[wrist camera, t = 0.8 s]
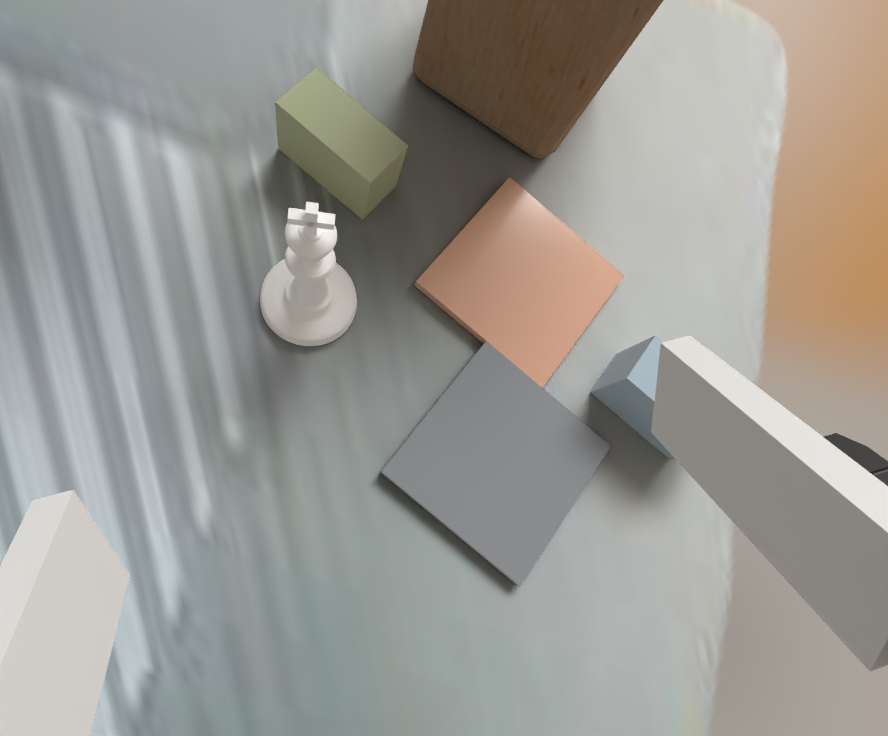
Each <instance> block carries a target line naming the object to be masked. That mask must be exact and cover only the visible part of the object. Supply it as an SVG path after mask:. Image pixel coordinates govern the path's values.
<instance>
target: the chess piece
mask: <svg viewBox="0 0 888 736" xmlns="http://www.w3.org/2000/svg"><path fill="white" fill-rule="evenodd" d="M318 208H319V203H313V202H306V210H302V209H295V208H289V209H288V222H287V224H286V227H285V239H286V242H287V244H288V247H287V249H286V252H285V259H283V260H281V261H280V262H278V263H277V264H276V265H275V266H274V267H273V268H272V269H271V270H270V271H269V272H268V274H267V275H266V277H265V279H264V282H263V285H262V288H261V293H260V307H261V311H262V314H263V317H264V319H265V321H266V323H267V324H268V326H269V327H270V328H271V329H272V330H273V331H274V332H275V333H276V334H277V335H278V336H279V337H281V338H282V339H284V340H286V341H288V342H290V343H293V344H297V345H301V346H319V345H323V344H327V343H329V342H332V341H334V340H335V339H337V338H338V337H340V336H341V335H342V334H343V333H344V332H345V331H346V330H347V329H348V328H349V326H350V325H351V323H352V321H353V319H354V317H355V314H356V309H357V296H356V291H355V287H354V284H353V282H352V280H351V278H350V276H349V275H348V273H347V272H346V271H345V270H344V269H343V268H342V267H341V266H340V265H339V264H338V263H336V256H335V252H334V250H333V248H334V246H335V244H336V242H337V230H336V227H335V214H331V213H324V212H318Z"/></svg>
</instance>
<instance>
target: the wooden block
mask: <svg viewBox="0 0 888 736" xmlns="http://www.w3.org/2000/svg"><path fill="white" fill-rule="evenodd" d="M662 1H663V0H428V4H427V8H426V12H425V16H424V20H423V24H422V28H421V32H420V36H419V40H418V44H417V48H416V52H415V57H414V63H413V69H414V73H415V75H416V76H417V77H418V78H419V80H420V81H421V82H423V83H424V84H425V85H427V86H428V87H430V88H431V89H433V90H434V91H436V92H437V93H439V94H440V95H442V96H443V97H445V98H446V99H448V100H449V101H451V102H452V103H454V104H455V105H457V106H458V107H459V108H461V109H462V110H464V111H465V112H467V113H468V114H470V115H471V116H473V117H474V118H476V119H477V120H479V121H480V122H482V123H483V124H485V125H486V126H488V127H489V128H491V129H492V130H493V131H495V132H496V133H498V134H499V135H501V136H502V137H504V138H505V139H507V140H508V141H510V142H511V143H513V144H514V145H516V146H517V147H519V148H520V149H522V150H523V151H525V152H526V153H527V154H529V155H530V156H532V157H536V158H539V159H542V158H544V157H546V156H547V155H549V154H551V153H552V152H554V151H555V150H556V149H557V148H558V146H559V145H560V143H561V142H562V141H563V139H564V138H565V136H566V135H567V134H568V132H569V131H570V129H571V128H572V127H573V125H574V124H575V123H576V121H577V120H578V118H579V117H580V116H581V114H582V113H583V111H584V110H585V109H586V107H587V106H588V104H589V103H590V102H591V100H592V99H593V97H594V96H595V95H596V93H597V92H598V91H599V89H600V88H601V86H602V85H603V84H604V82H605V81H606V79H607V78H608V77H609V75H610V74H611V72H612V71H613V70H614V68H615V67H616V65H617V64H618V63H619V61H620V60H621V59H622V57H623V56H624V54H625V53H626V52H627V50H628V49H629V47H630V46H631V45H632V43H633V42H634V40H635V39H636V38H637V36H638V35H639V33H640V32H641V31H642V29H643V28H644V27H645V25H646V24H647V22H648V21H649V20H650V18H651V17H652V15H653V14H654V13H655V11H656V10H657V8H658V7H659V6H660V4H661V3H662Z"/></svg>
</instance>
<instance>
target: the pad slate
mask: <svg viewBox="0 0 888 736" xmlns="http://www.w3.org/2000/svg"><path fill="white" fill-rule="evenodd" d="M610 447H611V446H610V445H609V444H608V443H607V442H606V441H604V440H603V439H602V438H601V437H600V436H598V435H597V434H596V433H595V432H594V431H593V430H591V429H590V428H589V427H588V426H587V425H585V424H584V423H583V422H582V421H581V420H580V419H578V418H577V417H576V416H575V415H574V414H572V413H571V412H570V411H569V410H568V409H567V408H565V407H564V406H563V405H562V404H561V403H559V402H558V401H557V400H556V399H555V398H554V397H552V396H551V395H550V394H549V393H548V392H546V391H545V390H544V389H543V388H542V387H541V386H539V385H538V384H537V383H536V382H535V381H533V380H532V379H531V378H530V377H529V376H528V375H526V374H525V373H524V372H523V371H522V370H520V369H519V368H518V367H517V366H516V365H515V364H513V363H512V362H511V361H510V360H509V359H507V358H506V357H505V356H504V355H503V354H502V353H500V352H499V351H498V350H497V349H496V348H494V347H493V346H492V345H491V344H490V343H489V342H487V341H486V342H484V343H483V344H482V346H481V347H480V348H479V349H478V351H477V352H476V353H475V354H474V356H473V357H472V358H471V359H470V361H469V362H468V363H467V364H466V366H465V367H464V368H463V369H462V371H461V372H460V373H459V374H458V376H457V377H456V378H455V379H454V381H453V382H452V383H451V384H450V386H449V387H448V388H447V389H446V391H445V392H444V393H443V394H442V396H441V397H440V398H439V399H438V400H437V402H436V403H435V404H434V405H433V407H432V408H431V409H430V410H429V412H428V413H427V414H426V415H425V417H424V418H423V419H422V420H421V422H420V423H419V424H418V425H417V427H416V428H415V429H414V430H413V432H412V433H411V434H410V435H409V437H408V438H407V439H406V440H405V442H404V443H403V444H402V445H401V447H400V448H399V449H398V450H397V452H396V453H395V454H394V455H393V457H392V458H391V459H390V460H389V461H388V463H387V464H386V465H385V466H384V468H383V469H382V470H381V471H380V473H381V474H382V475H384V476H385V477H386V478H387V479H388V480H390V481H391V482H392V483H393V484H394V485H396V486H397V487H398V488H399V489H400V490H402V491H403V492H404V493H405V494H407V495H408V496H409V497H410V498H411V499H413V500H414V501H415V502H416V503H417V504H419V505H420V506H421V507H422V508H423V509H425V510H426V511H427V512H428V513H430V514H431V515H432V516H433V517H434V518H436V519H437V520H438V521H439V522H440V523H442V524H443V525H444V526H445V527H446V528H448V529H449V530H450V531H451V532H453V533H454V534H455V535H456V536H457V537H459V538H460V539H461V540H462V541H463V542H465V543H466V544H467V545H468V546H469V547H471V548H472V549H473V550H474V551H476V552H477V553H478V554H479V555H480V556H482V557H483V558H484V559H485V560H486V561H488V562H489V563H490V564H491V565H492V566H494V567H495V568H496V569H497V570H499V571H500V572H501V573H502V574H503V575H505V576H506V577H507V578H508V579H509V580H511V581H512V582H513V583H514V584H515V585H518V586H520V585H521V584H522V582H523V581H524V579H525V578H526V576H527V575H528V573H529V572H530V570H531V569H532V567H533V566H534V564H535V562H536V561H537V559H538V558H539V556H540V555H541V553H542V552H543V550H544V549H545V547H546V546H547V544H548V542H549V541H550V539H551V538H552V536H553V535H554V533H555V532H556V530H557V529H558V527H559V526H560V524H561V523H562V521H563V519H564V518H565V516H566V515H567V513H568V512H569V510H570V509H571V507H572V506H573V504H574V503H575V501H576V500H577V498H578V496H579V495H580V493H581V492H582V490H583V489H584V487H585V486H586V484H587V483H588V481H589V480H590V478H591V476H592V475H593V473H594V472H595V470H596V469H597V467H598V466H599V464H600V463H601V461H602V460H603V458H604V457H605V455H606V453H607V452H608V450H609V449H610Z"/></svg>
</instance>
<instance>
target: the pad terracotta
mask: <svg viewBox="0 0 888 736" xmlns="http://www.w3.org/2000/svg"><path fill="white" fill-rule="evenodd" d="M623 277H624V275H623V274H622V273H621V272H620V271H618V270H617V269H616V268H615V267H614V266H613V265H611V264H610V263H609V262H608V261H607V260H606V259H605V258H603V257H602V256H601V255H600V254H599V253H598V252H596V251H595V250H594V249H593V248H592V247H591V246H589V245H588V244H587V243H586V242H585V241H584V240H583V239H581V238H580V237H579V236H578V235H577V234H576V233H574V232H573V231H572V230H571V229H570V228H569V227H567V226H566V225H565V224H564V223H563V222H562V221H560V220H559V219H558V218H557V217H556V216H555V215H554V214H552V213H551V212H550V211H549V210H548V209H547V208H545V207H544V206H543V205H542V204H541V203H540V202H538V201H537V200H536V199H535V198H534V197H533V196H531V195H530V194H529V193H528V192H527V191H526V190H525V189H523V188H522V187H521V186H520V185H519V184H518V183H516V182H515V181H514V180H513V179H512V178H511V177H509V178H508V179H507V180H506V182H505V183H504V184H503V185H502V186H501V187H500V188H499V189H498V190H497V192H496V193H495V194H494V195H493V196H492V197H491V198H490V199H489V200H488V202H487V203H486V204H485V205H484V206H483V207H482V208H481V209H480V210H479V212H478V213H477V214H476V215H475V216H474V217H473V218H472V219H471V220H470V222H469V223H468V224H467V225H466V226H465V227H464V228H463V229H462V230H461V232H460V233H459V234H458V235H457V236H456V237H455V238H454V239H453V240H452V242H451V243H450V244H449V245H448V246H447V247H446V248H445V249H444V250H443V252H442V253H441V254H440V255H439V256H438V257H437V258H436V259H435V260H434V262H433V263H432V264H431V265H430V266H429V267H428V268H427V269H426V270H425V272H424V273H423V274H422V275H421V276H420V277H419V278H418V279H417V280H416V282H415V284H414V286H416V287H417V288H418V289H419V290H420V291H421V292H423V293H424V294H425V295H426V296H427V297H429V298H430V299H431V300H432V301H433V302H435V303H436V304H437V305H438V306H439V307H440V308H442V309H443V310H444V311H445V312H446V313H448V314H449V315H450V316H451V317H452V318H453V319H455V320H456V321H457V322H458V323H459V324H461V325H462V326H463V327H464V328H465V329H466V330H468V331H469V332H470V333H471V334H472V335H474V336H475V337H476V338H477V339H478V340H479V341H481V342H482V343H484V342H486V341H487V342H489V343H490V344H491V345H492V346H493V347H494V348H496V349H497V350H498V351H499V352H500V353H502V354H503V355H504V356H505V357H506V358H507V359H509V360H510V361H511V362H512V363H513V364H515V365H516V366H517V367H518V368H519V369H520V370H522V371H523V372H524V373H525V374H526V375H528V376H529V377H530V378H531V379H532V380H533V381H535V382H536V383H537V384H538V385H539V386H541V387H542V388H543V386H544V385H545V383H546V382H547V381H548V379H549V378H550V377H551V375H552V374H553V373H554V371H555V370H556V368H557V367H558V366H559V364H560V363H561V362H562V360H563V359H564V358H565V356H566V355H567V353H568V352H569V351H570V349H571V348H572V347H573V345H574V344H575V343H576V341H577V340H578V338H579V337H580V336H581V334H582V333H583V332H584V330H585V329H586V327H587V326H588V325H589V323H590V322H591V321H592V319H593V318H594V317H595V315H596V314H597V312H598V311H599V310H600V308H601V307H602V306H603V304H604V303H605V302H606V300H607V299H608V297H609V296H610V295H611V293H612V292H613V291H614V289H615V288H616V286H617V285H618V284H619V282H620V281H621V280H622V278H623Z"/></svg>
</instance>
